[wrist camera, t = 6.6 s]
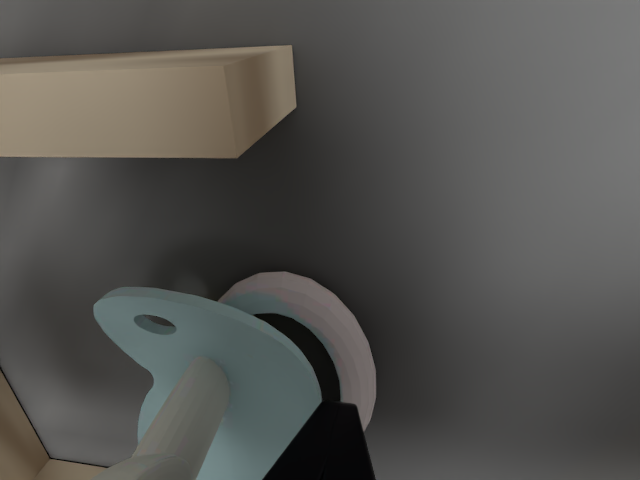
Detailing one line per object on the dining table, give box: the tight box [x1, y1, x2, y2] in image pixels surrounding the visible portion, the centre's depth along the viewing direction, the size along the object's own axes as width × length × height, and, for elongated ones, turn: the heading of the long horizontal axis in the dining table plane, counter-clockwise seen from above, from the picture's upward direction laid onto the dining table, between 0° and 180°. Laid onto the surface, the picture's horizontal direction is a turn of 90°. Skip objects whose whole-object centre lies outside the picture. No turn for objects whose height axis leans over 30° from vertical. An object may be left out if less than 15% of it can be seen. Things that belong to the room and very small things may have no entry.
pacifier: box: [90, 271, 376, 480], centre depth 8 cm, size 7×6×6 cm
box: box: [0, 45, 297, 480], centre depth 10 cm, size 11×14×3 cm
